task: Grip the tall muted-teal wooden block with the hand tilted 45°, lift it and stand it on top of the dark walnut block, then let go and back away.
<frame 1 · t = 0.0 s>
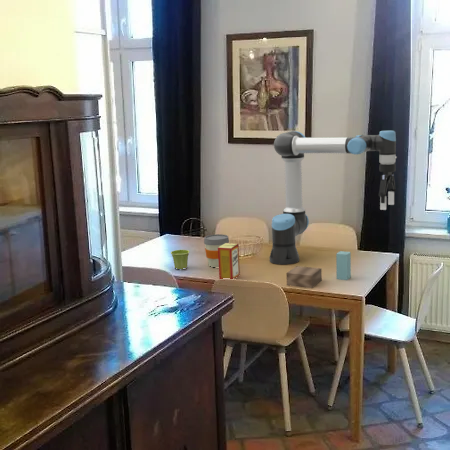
hand: (387, 207, 308), 28 cm above the table, tool pointing down, fingers open, 13 cm apart
reusable coffee cup: (217, 266, 324), on the table
walnut block: (304, 283, 289), on the table
plant pot: (181, 268, 322), on the table
teal wooden block: (343, 278, 293), on the table
baking soda box: (229, 278, 302), on the table
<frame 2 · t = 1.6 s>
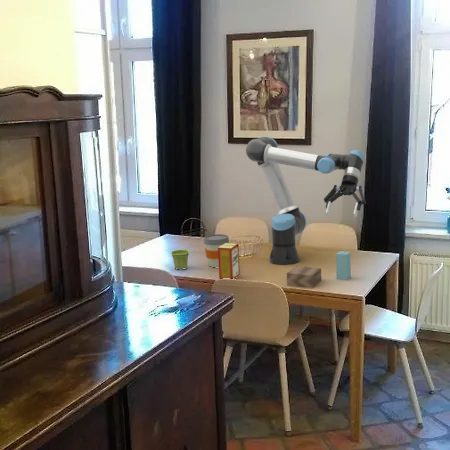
hand: (340, 214, 299), 27 cm above the table, tool tilted 45°, fingers open, 13 cm apart
nothing on the table moved.
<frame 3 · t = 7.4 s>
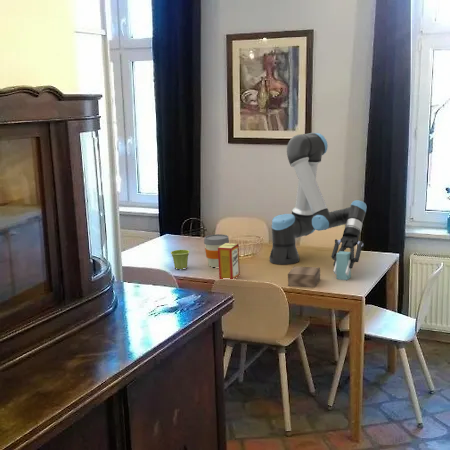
hand: (340, 273, 289), 3 cm above the table, tool tilted 45°, fingers closed on teal wooden block, 5 cm apart
teal wooden block: (343, 278, 293), on the table, touching gripper
when the fingers open (11 cm above the table, at t = 17.7 s): teal wooden block drops 2 cm, resting on walnut block.
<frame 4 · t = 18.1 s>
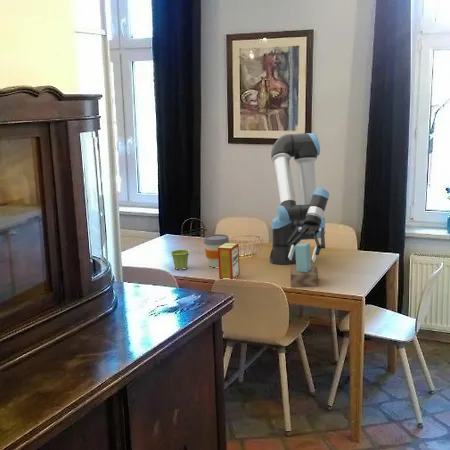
hand: (301, 259, 284), 12 cm above the table, tool tilted 45°, fingers open, 10 cm apart
walnut block: (304, 283, 289), on the table, touching teal wooden block
teal wooden block: (303, 270, 288), point 6 cm above the table, touching walnut block
everything else where it was.
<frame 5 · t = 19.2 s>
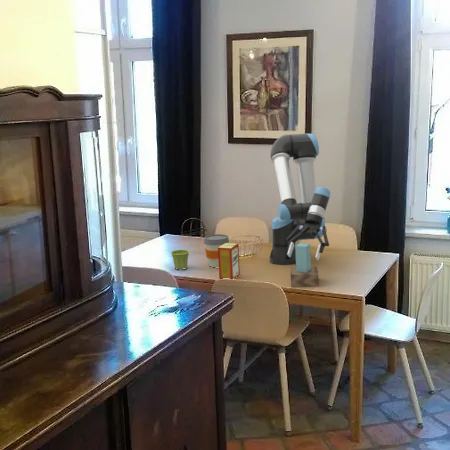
hand: (302, 257, 285), 12 cm above the table, tool tilted 45°, fingers open, 13 cm apart
walnut block: (304, 283, 289), on the table
teal wooden block: (303, 270, 287), point 6 cm above the table
everything else where it was.
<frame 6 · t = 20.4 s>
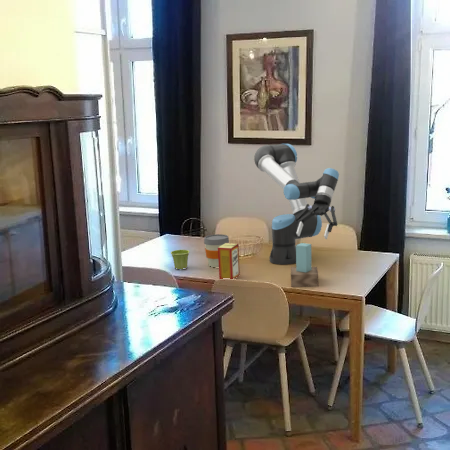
hand: (311, 236, 291), 20 cm above the table, tool tilted 45°, fingers open, 13 cm apart
nothing on the table moved.
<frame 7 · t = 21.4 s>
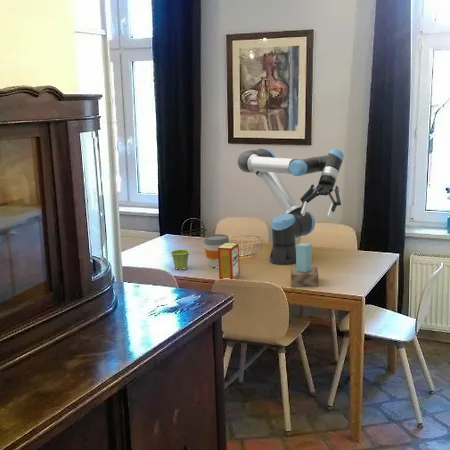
hand: (315, 215, 298), 28 cm above the table, tool tilted 40°, fingers open, 13 cm apart
walnut block: (304, 283, 289), on the table, touching teal wooden block
teal wooden block: (304, 270, 288), point 6 cm above the table, touching walnut block
everything else where it was.
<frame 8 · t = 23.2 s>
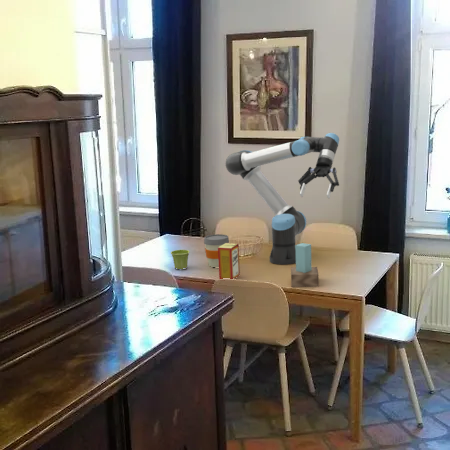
hand: (314, 196, 303), 36 cm above the table, tool tilted 45°, fingers open, 13 cm apart
nothing on the table moved.
at the end: teal wooden block inside the target area on the walnut block (0.3 cm from its centre), point 6.0 cm above the walnut block's base; teal wooden block tilted 0°; the gripper is holding nothing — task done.
